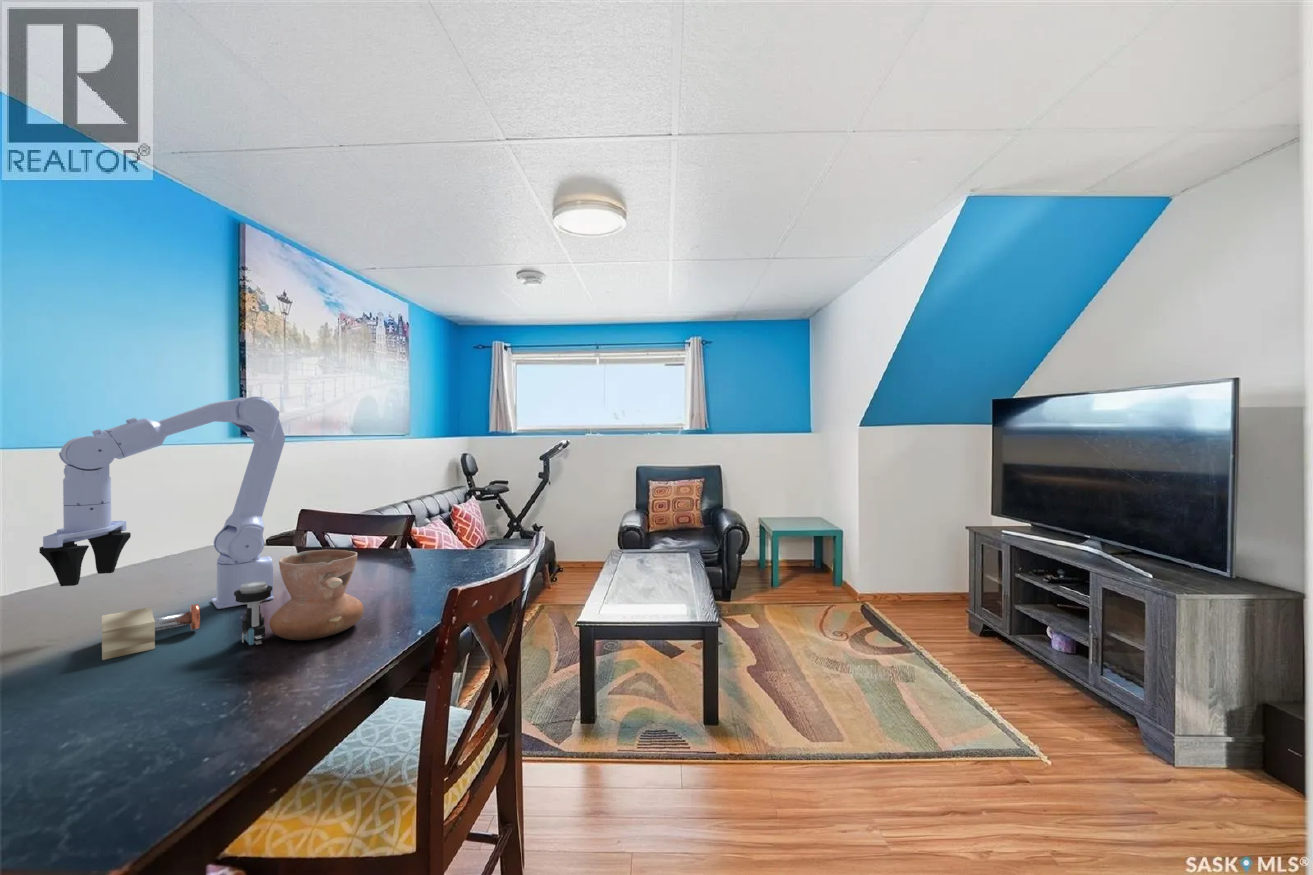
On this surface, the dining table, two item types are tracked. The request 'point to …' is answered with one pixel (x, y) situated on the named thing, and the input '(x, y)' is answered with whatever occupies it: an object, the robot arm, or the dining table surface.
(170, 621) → the pin
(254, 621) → the push button
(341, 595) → the ceramic jug
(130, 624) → the hitch block
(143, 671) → the dining table surface
